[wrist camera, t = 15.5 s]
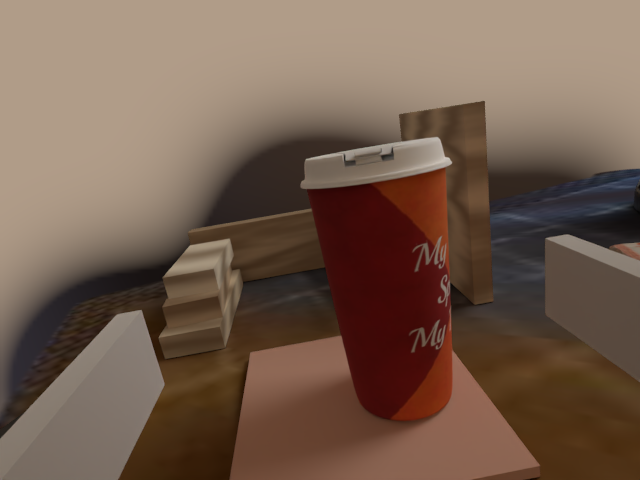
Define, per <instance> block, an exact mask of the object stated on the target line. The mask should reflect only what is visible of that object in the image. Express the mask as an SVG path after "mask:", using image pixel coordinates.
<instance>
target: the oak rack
mask: <svg viewBox="0 0 640 480" xmlns="http://www.w3.org/2000/svg"><path fill="white" fill-rule="evenodd" d="M399 118H400V128H401V138H402V142H403V141H410V140H416V139H424V138H432V137H438V138H439V139H440V140H441V144H442V148H443V152H444V156H445V157H448V158H450V160H451V161H452V164H451V165H449V166H447V167H446V193H447V220H448V246H449V273H450V283H452V284H453V285H454V286H455V287H456V288H457V289H458V290H459V291H460V292H461V293H462V294H463V295H464V296H466V297H467V298H468V299H469V300H470V301H471V302H472V303H473V304H474V305H477V304H482V303H487V302H493V284H492V261H491V238H490V215H489V193H488V169H487V146H486V122H485V101H481V102H475V103H468V104H462V105H455V106H450V107H442V108H437V109H429V110H424V111H417V112H410V113H404V114H400V115H399ZM188 236H189V240H190V243H191V245H196V244H201V243H207V242H213V241H218V240H224V239H230V241H231V245H232V250H233V254H234V256H233V259H232V261H231V263H230V264H231V269H232V270H237V269H240V273H241V277H242V281H243V282H246V281H251V280H257V279H262V278H268V277H274V276H279V275H285V274H290V273H296V272H301V271H307V270H312V269H318V268H324V267H325V264H324V260H323V256H322V251H321V247H320V243H319V239H318V234H317V230H316V226H315V221H314V217H313V213H312V209H307V210H301V211H295V212H290V213H284V214H279V215H273V216H267V217H261V218H255V219H249V220H244V221H239V222H232V223H227V224H221V225H216V226H209V227H204V228H198V229H193V230H190V231H189V232H188Z"/></svg>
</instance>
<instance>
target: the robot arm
mask: <svg viewBox="0 0 640 480" xmlns="http://www.w3.org/2000/svg"><path fill="white" fill-rule="evenodd" d="M634 208H635V209H636V210H637V211H639V212H640V180H639V182H638V184H637V186H636V189H635V196H634ZM545 315H547V316H548V317H549V318H551V319H552V320H554V321H555V322H556V323H558V324H559V325H561V326H562V327H563V328H565V329H566V330H568V331H569V332H570V333H572V334H573V335H575V336H576V337H577V338H579V339H580V340H582V341H583V342H584V343H586V344H587V345H589V346H590V347H591V348H593V349H594V350H596V351H597V352H598V353H600V354H601V355H603V356H604V357H605V358H607V359H608V360H610V361H611V362H612V363H614V364H615V365H617V366H618V367H620V368H621V369H622V370H624V371H625V372H627V373H628V374H629V375H631V376H632V377H634V378H635V379H636V380H638V381H639V382H640V261H639V260H636V259H634V258H631V257H628V256H626V255H623V254H620V253H617V252H615V251H612V250H609V249H607V248H604V247H601V246H598V245H596V244H593V243H590V242H588V241H585V240H582V239H579V238H577V237H574V236H571V235H568V234H567V235H561V236H556V237H550V238H545ZM164 385H165V384H164V381H163V377H162V374H161V371H160V368H159V365H158V361H157V358H156V355H155V352H154V349H153V345H152V342H151V339H150V336H149V332H148V329H147V326H146V323H145V320H144V316H143V313H142V310H139V311H133V312H128V313H122V314H117V315H116V316H115V317H114V318H113V319H112V320H111V321H110V323H109V324H108V325H107V326H106V327H105V328H104V329H103V330H102V331H101V332H100V333H99V334H98V335H97V336H96V337H95V339H94V340H93V341H92V342H91V343H90V344H89V345H88V346H87V347H86V348H85V349H84V350H83V351H82V352H81V353H80V354H79V356H78V357H77V358H76V359H75V360H74V361H73V362H72V363H71V364H70V365H69V366H68V367H67V368H66V369H65V370H64V371H63V373H62V374H61V375H60V376H59V377H58V378H57V379H56V380H55V381H54V382H53V383H52V384H51V385H50V386H49V387H48V388H47V390H46V391H45V392H44V393H43V394H42V395H41V396H40V397H39V398H38V399H37V400H36V401H35V402H34V403H33V404H32V406H31V407H30V408H29V409H28V410H27V411H26V412H25V413H23V414H21V415H20V416H18V417H17V418H16V419H14V420H13V421H11V422H10V423H9V424H7V425H6V426H5V427H3V428H2V429H0V480H118V479H119V477H120V474H121V472H122V470H123V468H124V466H125V464H126V462H127V460H128V458H129V456H130V454H131V452H132V450H133V448H134V446H135V444H136V442H137V440H138V438H139V436H140V434H141V432H142V430H143V428H144V426H145V424H146V422H147V420H148V417H149V415H150V413H151V411H152V409H153V407H154V405H155V403H156V401H157V399H158V397H159V395H160V393H161V391H162V389H163V387H164Z"/></svg>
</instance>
